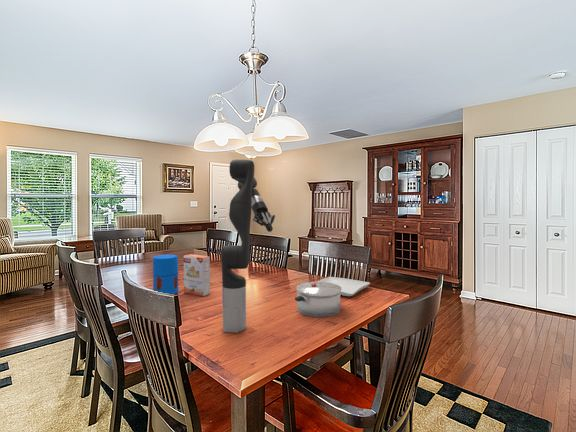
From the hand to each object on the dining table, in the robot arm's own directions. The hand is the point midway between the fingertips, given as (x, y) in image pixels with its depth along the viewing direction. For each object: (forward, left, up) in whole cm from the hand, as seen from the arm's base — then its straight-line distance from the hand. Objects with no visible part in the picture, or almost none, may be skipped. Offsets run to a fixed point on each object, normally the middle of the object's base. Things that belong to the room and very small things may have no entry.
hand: (270, 230), depth 157 cm
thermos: (-19, +45, -36) cm, 61 cm away
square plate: (+28, -35, -36) cm, 57 cm away
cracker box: (+7, +42, -36) cm, 56 cm away
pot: (-7, -25, -36) cm, 44 cm away
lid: (-7, -24, -27) cm, 37 cm away
